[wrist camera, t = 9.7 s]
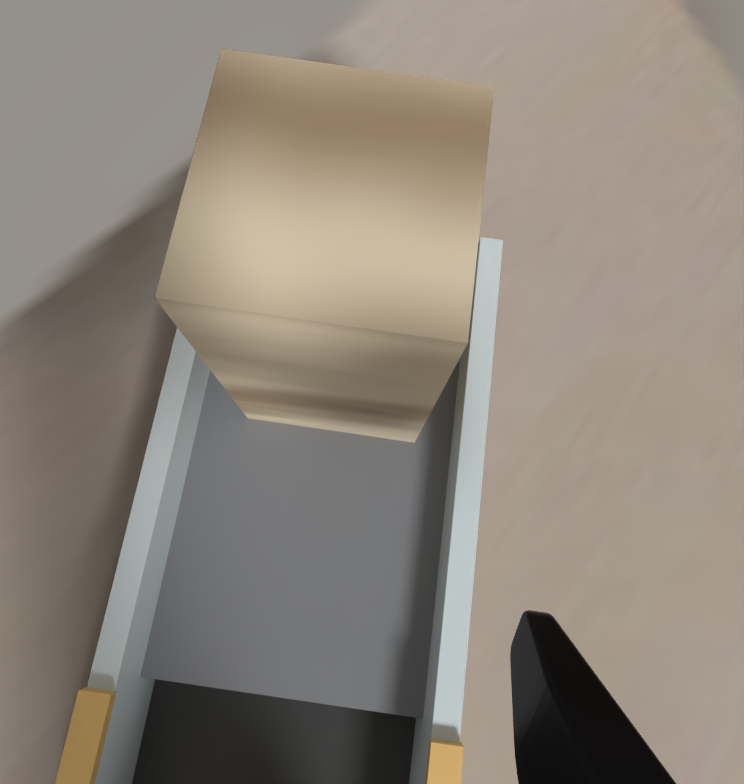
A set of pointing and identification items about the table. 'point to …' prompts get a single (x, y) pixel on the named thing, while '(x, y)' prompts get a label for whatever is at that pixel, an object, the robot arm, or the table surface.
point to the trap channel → (291, 592)
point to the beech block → (330, 240)
